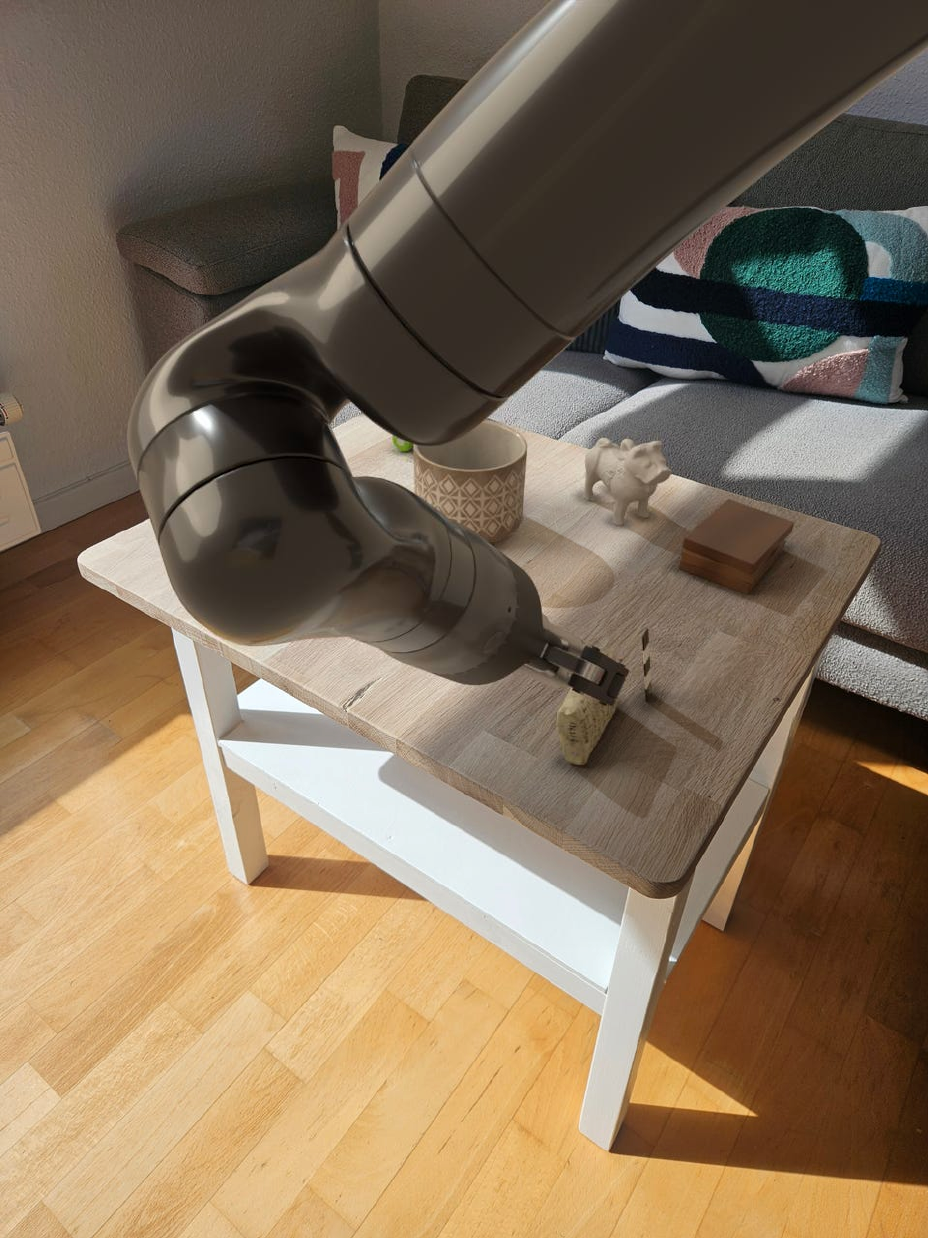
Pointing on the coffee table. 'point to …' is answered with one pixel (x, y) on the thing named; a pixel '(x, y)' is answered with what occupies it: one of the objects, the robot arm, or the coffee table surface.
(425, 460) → the planter
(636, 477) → the dog figurine
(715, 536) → the slab pile
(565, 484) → the coffee table surface
